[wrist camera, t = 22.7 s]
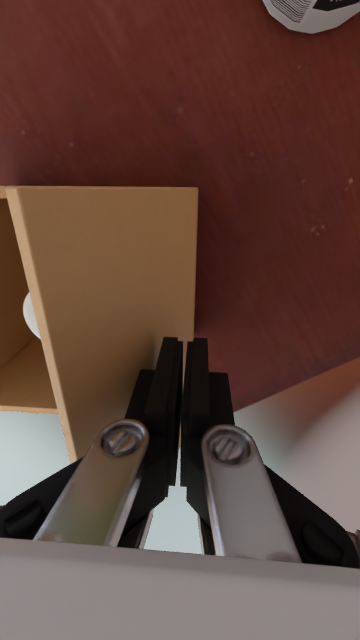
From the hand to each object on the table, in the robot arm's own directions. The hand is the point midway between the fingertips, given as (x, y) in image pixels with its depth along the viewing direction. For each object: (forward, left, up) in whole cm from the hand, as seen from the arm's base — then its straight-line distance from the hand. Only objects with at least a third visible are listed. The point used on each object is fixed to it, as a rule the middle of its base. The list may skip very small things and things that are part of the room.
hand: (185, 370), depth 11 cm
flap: (-2, 0, 0) cm, 2 cm away
